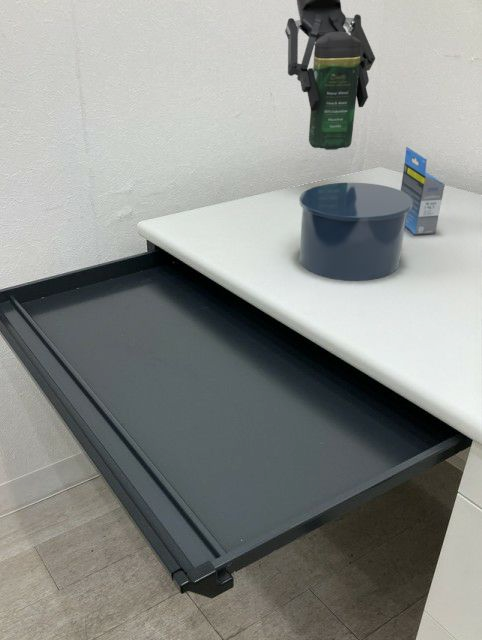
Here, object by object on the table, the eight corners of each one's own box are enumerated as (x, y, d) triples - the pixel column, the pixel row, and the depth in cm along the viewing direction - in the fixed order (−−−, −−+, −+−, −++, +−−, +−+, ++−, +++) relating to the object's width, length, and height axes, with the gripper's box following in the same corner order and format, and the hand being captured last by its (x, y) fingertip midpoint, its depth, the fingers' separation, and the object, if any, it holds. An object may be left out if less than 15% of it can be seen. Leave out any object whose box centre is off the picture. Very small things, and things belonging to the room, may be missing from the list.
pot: (388, 239, 98) (396, 181, 93) (415, 280, 85) (427, 215, 79) (291, 242, 99) (294, 184, 93) (302, 283, 85) (306, 218, 80)
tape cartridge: (436, 234, 99) (451, 158, 92) (414, 235, 99) (426, 159, 92) (416, 216, 107) (428, 144, 100) (394, 218, 106) (405, 146, 99)
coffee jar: (354, 151, 107) (366, 33, 97) (310, 151, 108) (316, 35, 98) (348, 138, 115) (358, 28, 105) (307, 139, 116) (313, 30, 106)
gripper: (364, 8, 114) (387, 113, 109) (257, 14, 112) (277, 121, 107) (378, -26, 106) (404, 85, 102) (264, -20, 104) (286, 94, 100)
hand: (339, 104), depth 105 cm, fingers closed on coffee jar, 8 cm apart
